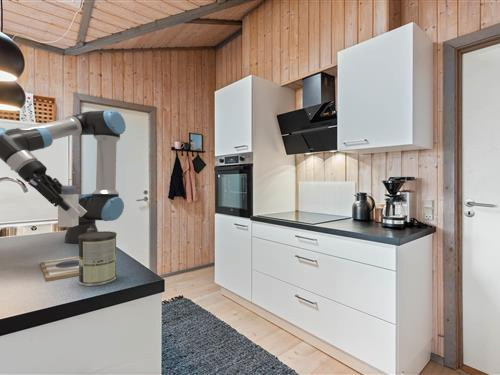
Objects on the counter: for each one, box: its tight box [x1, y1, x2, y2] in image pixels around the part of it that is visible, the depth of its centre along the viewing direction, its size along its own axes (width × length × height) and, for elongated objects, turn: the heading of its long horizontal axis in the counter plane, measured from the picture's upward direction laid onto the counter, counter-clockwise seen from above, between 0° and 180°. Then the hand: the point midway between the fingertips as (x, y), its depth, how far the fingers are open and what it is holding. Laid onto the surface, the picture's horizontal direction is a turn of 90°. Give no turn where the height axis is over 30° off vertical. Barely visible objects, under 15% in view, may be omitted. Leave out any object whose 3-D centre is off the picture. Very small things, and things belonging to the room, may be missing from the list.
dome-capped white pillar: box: [57, 185, 79, 228], centre depth 97 cm, size 4×4×14 cm
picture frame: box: [39, 255, 79, 282], centre depth 98 cm, size 22×16×1 cm
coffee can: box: [78, 230, 117, 287], centre depth 86 cm, size 10×10×14 cm
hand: (80, 215), depth 98 cm, fingers closed on dome-capped white pillar, 4 cm apart
